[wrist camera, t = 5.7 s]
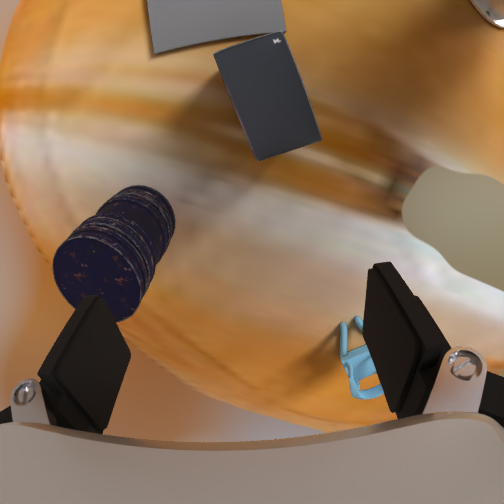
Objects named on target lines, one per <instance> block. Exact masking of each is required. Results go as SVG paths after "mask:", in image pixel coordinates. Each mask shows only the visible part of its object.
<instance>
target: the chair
mask: <svg viewBox="0 0 504 504" xmlns="http://www.w3.org/2000/svg"><path fill="white" fill-rule="evenodd" d="M354 320H355V322H356V325H357V326H358V327H359V329H360V330H361V331H362V332H363V330H362V328H363V321H362V320H361V319H360V317H359V316H356V317H355V318H354ZM340 331H341V334H340V350H339V354H340V358H341V362H342V364H343V366H344V368H345V370H346V372H347V375H348V377H349V382H350V389H351V394H352V396H353V397H354V398H357V399H372V398H376V397H378V396H380V395H382V394H383V393H384V391H383V389H382V386H381V384H379V385H377V386H375V387H373V388H370V389H367V390H361V391H360V383H359V380H361V379H363V378H365V377H367V376H370V375H372V374H375V373H377V372H376V369H375V366H374V364H373V361H372V358H371V356H370V353H369V350H368V348H367V345H364V346H361V347H359V348H357V349H354V350H352V351H349V352H348V351H347V327H346V324H345V323H344V322H342V323H341V324H340Z"/></svg>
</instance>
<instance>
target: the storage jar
mask: <svg viewBox="0 0 504 504" xmlns="http://www.w3.org/2000/svg"><path fill="white" fill-rule="evenodd" d="M174 229H175V216H174V212H173V209H172V207H171V205H170V204H169V202H168V201H167V199H166V198H165V197H164V196H163V195H162V194H161V193H159V192H158V191H156V190H154V189H152V188H150V187H146V186H140V185H137V186H130V187H127V188H125V189H123V190H121V191H120V192H119V193H117V194H116V195H114V196H113V197H111V198H110V199H109V200H108V201H107V202H106V203H104V204H103V205H102V207H101V208H100V209H99V210H98V212H97V213H96V215H94V216H92V217H90V218H88V219H87V220H85V221H84V222H83V223H82V224H81V225H80V226H79V227H77V228H76V229H75V230H74V231H73V232H72V233H71V235H70V236H69V237H68V239H67V240H65V241H64V242H63V243H62V244H61V245H60V247H59V248H58V249H57V251H56V253H55V255H54V259H53V274H54V279H55V282H56V284H57V287H58V289H59V291H60V292H61V294H62V295H63V297H64V298H65V299H66V300H67V302H68V303H69V304H70V305H71V306H72V307H73V308H75V309H76V308H77V306H78V305H79V303H80V302H81V300H82V299H83V298H84V297H85V296H92V295H99V296H100V297H101V298H102V299H104V300H105V301H106V303H107V305H108V307H109V309H110V312H111V314H112V316H113V318H114V320H115V322H120V321H123V320H126V319H128V318H129V317H131V316H132V315H133V314H134V313H135V312H136V310H137V309H138V307H139V305H140V302H141V300H142V298H143V296H144V295H145V293H146V291H147V289H148V287H149V285H150V282H151V281H152V279H153V276H154V272H155V267H156V264H157V263H158V262H159V261H160V259H161V258H162V256H163V255H164V253H165V251H166V250H167V248H168V245H169V243H170V240H171V238H172V235H173V233H174Z"/></svg>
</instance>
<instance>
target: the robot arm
mask: <svg viewBox="0 0 504 504" xmlns="http://www.w3.org/2000/svg"><path fill="white" fill-rule="evenodd" d="M470 1H471V3H472V4H473V5H474V7H475V8H476V9H477V11H478V12H479V13H480V14H481V15H482V16H483V17H484V18H485V19H486V20H487V21H489V22H490V23H492V24H493V25H495V26H497V27H500V28H504V0H470ZM362 330H363V337H364V340H365V342H366V345H367V348H368V350H369V353H370V356H371V358H372V361H373V364H374V366H375V369H376V372H377V375H378V377H379V380H380V383H381V386H382V389H383V391H384V394H385V397H386V400H387V403H388V406H389V409H390V411H391V412H392V413H393V412H396V415H397V418H398V419H397V420H392V421H387V422H383V423H378V424H374V425H369V426H364V427H359V428H354V429H348V430H342V431H336V432H330V433H324V434H318V435H310V436H303V437H294V438H285V439H274V440H261V441H244V442H174V441H158V440H146V439H135V438H125V437H117V436H110V435H103V434H102V433H103V430H104V429H106V428H107V426H108V423H109V420H110V417H111V414H112V411H113V407H114V404H115V401H116V398H117V395H118V392H119V390H120V387H121V384H122V381H123V378H124V375H125V372H126V369H127V367H128V364H129V361H130V358H131V353H130V350H129V348H128V346H127V344H126V342H125V340H124V338H123V336H122V334H121V332H120V330H119V328H118V326H117V324H116V322H115V320H114V318H113V316H112V314H111V312H110V309H109V307H108V305H107V303H106V301H105V300H104V299H102V298H101V297H100V296H99V295H92V296H85V297H84V298H83V299H82V300H81V302H80V303H79V305H78V306H77V308H76V310H75V311H74V313H73V314H72V316H71V317H70V319H69V321H68V322H67V324H66V325H65V327H64V329H63V330H62V332H61V333H60V335H59V337H58V338H57V340H56V342H55V343H54V345H53V347H52V349H51V350H50V352H49V353H48V355H47V357H46V359H45V360H44V362H43V364H42V366H41V368H40V369H39V371H38V373H37V374H38V376H39V377H40V378H41V381H40V383H39V382H38V381H37V380H36V379H33V378H28V379H25V380H23V381H21V382H20V383H18V384H17V385H16V387H15V388H14V389H13V391H12V393H11V397H10V403H11V406H9V407H8V408H6V409H4V410H3V411H1V412H0V504H504V377H502V376H499V375H496V374H493V373H491V372H488V371H487V364H486V361H485V359H484V357H483V356H482V355H481V354H480V353H479V352H478V351H477V350H475V349H473V348H470V347H465V346H459V347H454V348H451V347H450V345H449V343H448V342H447V340H446V339H445V337H444V335H443V334H442V332H441V330H440V329H439V327H438V326H437V324H436V323H435V321H434V319H433V318H432V316H431V315H430V313H429V312H428V310H427V309H426V307H425V306H424V304H423V303H422V301H421V300H420V298H419V297H418V296H414V295H413V293H412V292H411V290H410V289H409V287H408V286H407V284H406V283H405V281H404V280H403V279H402V277H401V276H400V274H399V273H398V271H397V270H396V269H395V267H394V266H393V264H392V263H391V262H383V263H376V264H374V265H373V268H372V269H369V270H368V277H367V290H366V300H365V310H364V319H363V328H362Z"/></svg>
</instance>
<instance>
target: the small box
mask: <svg viewBox="0 0 504 504" xmlns="http://www.w3.org/2000/svg"><path fill="white" fill-rule="evenodd" d="M213 55H214V58H215V60H216V63H217V66H218V68H219V71H220V73H221V76H222V78H223V81H224V83H225V86H226V88H227V91H228V93H229V96H230V99H231V101H232V104H233V107H234V109H235V111H236V114H237V116H238V118H239V121H240V123H241V125H242V128H243V130H244V133H245V135H246V138H247V140H248V142H249V145H250V147H251V149H252V152H253V154H254V156H255V158H256V160H257V161H261V160H264V159H267V158H270V157H273V156H276V155H279V154H282V153H286V152H288V151H291V150H294V149H297V148H301V147H304V146H307V145H310V144H313V143H316V142H319V141H321V140H322V137H321V133H320V130H319V127H318V124H317V121H316V118H315V115H314V112H313V109H312V106H311V103H310V100H309V98H308V95H307V92H306V89H305V86H304V84H303V81H302V79H301V76H300V73H299V71H298V68H297V65H296V63H295V60H294V58H293V55H292V53H291V50H290V48H289V45H288V43H287V41H286V38H285V36H284V33H283V32H282V31H280V30H279V31H276V32H273V33H269V34H266V35H263V36H260V37H256V38H253V39H250V40H247V41H244V42H241V43H238V44H235V45H233V46H230V47H227V48H225V49H222V50H219V51H217V52H215V53H214V54H213Z"/></svg>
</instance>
